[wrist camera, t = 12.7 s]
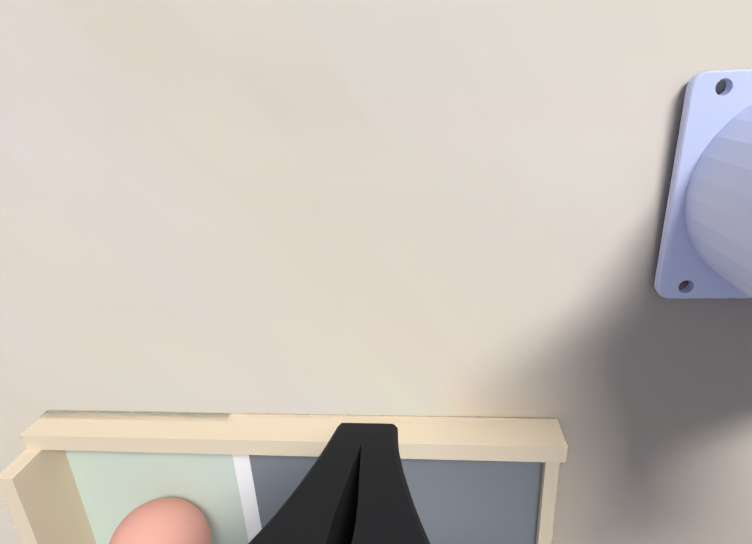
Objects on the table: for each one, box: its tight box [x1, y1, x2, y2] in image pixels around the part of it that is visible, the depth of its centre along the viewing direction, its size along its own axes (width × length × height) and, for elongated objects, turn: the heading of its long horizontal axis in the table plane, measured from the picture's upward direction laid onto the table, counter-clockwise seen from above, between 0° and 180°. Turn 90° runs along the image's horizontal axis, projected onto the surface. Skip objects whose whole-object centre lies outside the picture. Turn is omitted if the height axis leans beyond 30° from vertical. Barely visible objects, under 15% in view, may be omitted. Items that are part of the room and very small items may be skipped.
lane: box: [0, 411, 568, 544], centre depth 24 cm, size 24×11×4 cm, turn 93°
